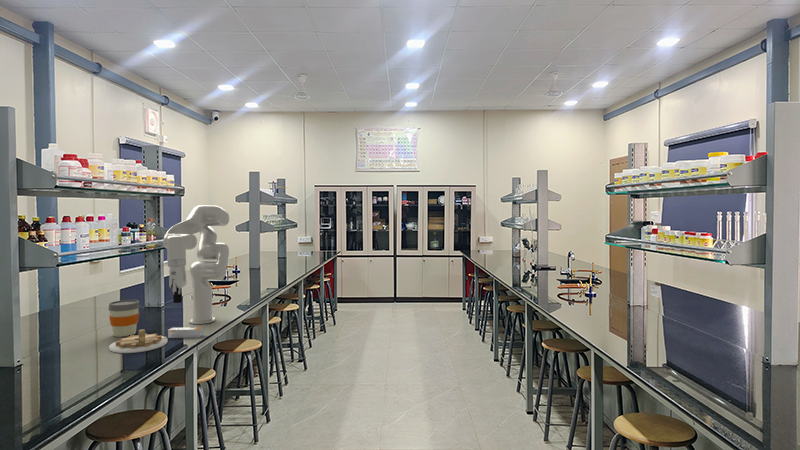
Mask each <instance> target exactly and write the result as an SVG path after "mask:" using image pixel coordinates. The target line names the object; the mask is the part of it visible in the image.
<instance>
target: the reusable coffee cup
mask: <svg viewBox="0 0 800 450" xmlns="http://www.w3.org/2000/svg"><path fill="white" fill-rule="evenodd" d="M139 309H140V301H139V300H138V299H123V300H115V301H112V302H109V303H108V311H109V315H108V317H109V323H110V326H111V327H112V333H113V334H112V335H113V336H114V337H118V338H119V337H121V338H124V337H129V335H135V334H136V332H137V324H138V323H139V317H140V312H139Z"/></svg>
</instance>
